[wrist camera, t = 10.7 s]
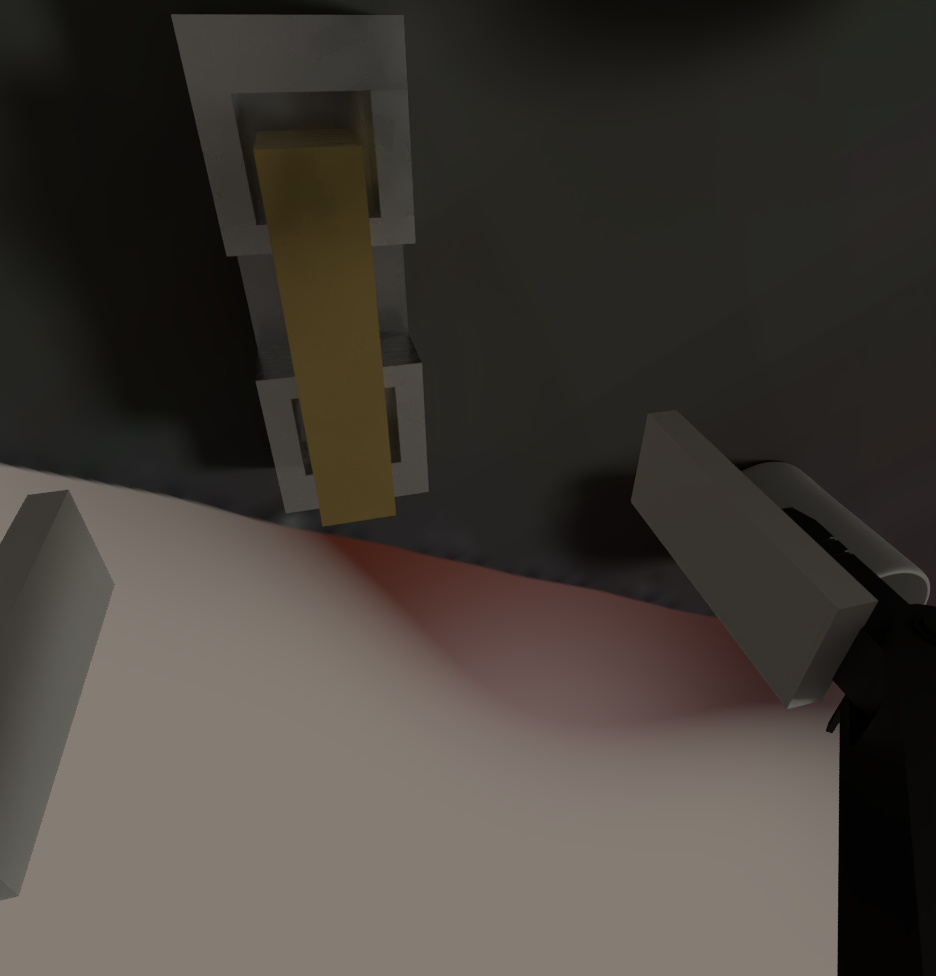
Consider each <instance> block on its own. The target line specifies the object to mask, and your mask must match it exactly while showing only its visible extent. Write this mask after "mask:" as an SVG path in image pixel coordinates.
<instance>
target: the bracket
mask: <svg viewBox="0 0 936 976" xmlns="http://www.w3.org/2000/svg"><path fill="white" fill-rule="evenodd" d="M171 17H172V21H173V26H174V30H175V34H176V39H177V43H178V47H179V52H180V56H181V60H182V65H183V69H184V73H185V78H186V82H187V86H188V91H189V95H190V99H191V104H192V108H193V112H194V117H195V121H196V125H197V130H198V134H199V138H200V143H201V147H202V151H203V156H204V160H205V164H206V169H207V173H208V177H209V182H210V186H211V191H212V195H213V199H214V204H215V208H216V212H217V217H218V221H219V225H220V230H221V234H222V238H223V243H224V247H225V251H226V256H227V257H228V256H237V257H238V262H239V266H240V271H241V275H242V280H243V284H244V289H245V293H246V298H247V302H248V307H249V311H250V316H251V321H252V325H253V330H254V334H255V339H256V343H257V348H258V349H257V365H256V380H255V381H256V386H257V390H258V394H259V399H260V403H261V407H262V412H263V416H264V420H265V425H266V429H267V433H268V438H269V442H270V446H271V451H272V455H273V459H274V464H275V468H276V472H277V477H278V481H279V485H280V490H281V494H282V498H283V503H284V507H285V511H286V513H291V512H298V511H305V510H311V509H318V508H319V503H318V498H317V492H316V487H315V482H314V476H313V471H312V465H311V460H310V455H309V449H308V444H307V438H306V433H305V427H304V422H303V417H302V411H301V406H300V400H299V395H298V389H297V384H296V379H295V373H294V368H293V362H292V357H291V352H290V346H289V341H288V335H287V330H286V324H285V319H284V314H283V308H282V303H281V297H280V292H279V286H278V281H277V276H276V270H275V265H274V259H273V254H272V249H271V243H270V238H269V232H268V227H267V221H266V216H265V211H264V205H263V200H262V194H261V189H260V183H259V178H258V173H257V167H256V162H255V156H254V151H253V149H254V144H255V139H256V135H257V131H285V130H319V129H349V130H350V131H351V133H352V134H353V135H354V136H355V137H356V139H357V140H358V141H359V142H360V144H361V145H362V147H363V158H364V169H365V180H366V191H367V202H368V213H369V224H370V235H371V246H372V257H373V268H374V279H375V290H376V301H377V312H378V323H379V334H380V345H381V356H382V367H383V378H384V389H385V399H386V410H387V421H388V432H389V443H390V454H391V465H392V476H393V487H394V497H397V496H403V495H410V494H416V493H423V492H429V490H428V471H427V452H426V433H425V414H424V395H423V376H422V362H421V360H420V358H419V356H418V353H417V351H416V349H415V347H414V344H413V342H412V340H411V338H410V336H409V333H408V321H407V305H406V290H405V274H404V259H403V244H412V243H415V224H414V205H413V186H412V167H411V148H410V129H409V110H408V91H407V72H406V53H405V34H404V15H207V14H171Z"/></svg>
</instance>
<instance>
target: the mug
mask: <svg viewBox="0 0 936 976" xmlns="http://www.w3.org/2000/svg"><path fill="white" fill-rule="evenodd" d="M741 472H742V473H743V474H744V475H745V476H746V477H747V478H749V479H750V480H751V481H752V482H753V483H754V484H755V485H756V486H757V487H758V488H759V489H760V490H761V491H762V492H763V493H764V494H765V495H767V496H768V497H769V498H770V499H771V500H772V501H773V502H774V503H775V504H776V505H777V506H778V507H779V508H780V509H783V508H789V507H793V508H794V509H796V510H798V511H800V512H802V513H804V514H806V515H807V516H809V517H811V518H813V519H815V520H816V521H818V522H819V523H820V524H821V525H822V526H823V527H824V528H825V529H826V530H828V531H829V532H830V533H831V534H832V535H833V536H834V539H835V540H839V541H840V542H841V543H842V544H843V545H844V546H845V547H846V548H848V549H849V553H850V554H854V555H855V556H856V557H858V558H859V559H860V560H861V561H862V562H863V563H864V564H865V565H866V566H868V567H869V568H870V569H871V570H872V571H873V572H874V573H875V574H876V575H877V576H879V577H880V578H881V579H882V580H883V581H884V582H885V583H886V584H887V585H889V586H890V587H891V588H892V589H893V590H894V591H895V592H896V593H897V594H899V595H900V596H901V597H902V598H903V599H904V600H905V601H906V602H908V603H909V604H923V605H925V604H926V602H927V600H928V597H929V593H930V583H929V580H928V578H927V576H926V575H925V574H924V572H923V571H921V570H920V569H919V568H918V567H917V566H916V565H914V564H913V563H912V562H911V561H910V560H908V559H907V558H906V557H905V556H904V555H902V554H901V553H900V552H899V551H897V550H896V549H895V548H894V547H893V546H891V545H890V544H889V543H888V542H886V541H885V540H884V539H883V538H882V537H880V536H879V535H878V534H877V533H875V532H874V531H873V530H872V529H871V528H869V527H868V526H867V525H866V524H864V523H863V522H862V521H861V520H860V519H858V518H857V517H856V516H855V515H853V514H852V513H851V512H850V511H849V510H847V509H846V508H845V507H844V506H842V505H841V504H840V503H839V502H838V501H836V500H835V499H834V498H833V497H832V496H830V495H829V494H828V493H827V492H826V491H824V490H823V489H822V488H821V487H820V486H819V485H818V484H816V483H815V482H814V481H813V480H812V479H811V478H810V477H808V476H807V475H806V474H805V473H803V472H802V471H801V470H800V469H798V468H797V467H795V466H793V465H791V464H788V463H785V462H766V463H761V464H757V465H754V466H751V467H749V468H747V469H745V470H742V471H741Z"/></svg>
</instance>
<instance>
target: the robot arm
mask: <svg viewBox="0 0 936 976" xmlns="http://www.w3.org/2000/svg"><path fill="white" fill-rule="evenodd" d="M631 503H632V504H633V505H634V507H635V508H636V509H637V511H638V512H639V513H640V515H641V516H642V517H643V519H644V520H645V521H646V523H647V524H648V525H649V527H650V528H651V529H652V531H653V532H654V533H655V535H656V536H657V537H658V539H659V540H660V541H661V543H662V544H663V545H664V547H665V548H666V549H667V551H668V552H669V553H670V555H671V556H672V557H673V559H674V560H675V561H676V563H677V564H678V565H679V567H680V568H681V569H682V571H683V572H684V573H685V575H686V576H687V577H688V579H689V580H690V581H691V582H692V584H693V585H694V586H695V588H696V589H697V590H698V592H699V593H700V594H701V596H702V597H703V598H704V600H705V601H706V602H707V604H708V605H709V606H710V608H711V609H712V610H713V612H714V613H715V614H716V616H717V617H718V618H719V620H720V621H721V622H722V624H723V625H724V626H725V628H726V629H727V630H728V632H729V633H730V634H731V636H732V637H733V638H734V640H735V641H736V642H737V643H738V645H739V646H740V648H741V649H742V650H743V652H744V653H745V654H746V656H747V657H748V658H749V659H750V661H751V662H752V663H753V665H754V666H755V667H756V669H757V670H758V671H759V673H760V674H761V675H762V677H763V678H764V679H765V681H766V682H767V683H768V685H769V686H770V687H771V689H772V690H773V691H774V693H775V694H776V695H777V697H778V698H779V699H780V701H781V702H782V703H783V705H784V706H785V707H786V709H789V708H794V707H798V706H802V705H806V704H810V703H814V702H818V701H822V699H823V697H824V696H825V694H826V692H827V690H828V689H829V687H830V685H831V683H832V682H833V681H834V682H835V683H836V684H837V685H838V686H839V688H840V689H841V690H842V691H843V692H844V693H845V696H844V698H843V699H842V701H841V703H840V704H839V706H838V708H837V709H836V711H835V713H834V714H833V716H832V718H831V719H830V721H829V723H828V726H827V729H826V731H827V732H830V733H833V731H834V730H835V728H836V726H837V725H838V724H839V723H840V755H839V756H840V757H839V758H840V759H839V768H840V769H839V868H838V869H839V872H838V976H936V607H934V606H929V605H923V604H909V603H908V602H906V601H905V600H904V599H903V598H902V597H901V596H900V595H899V594H897V593H896V592H895V591H894V590H893V589H892V588H891V587H890V586H889V585H887V584H886V583H885V582H884V581H883V580H882V579H881V578H880V577H879V576H877V575H876V574H875V573H874V572H873V571H872V570H871V569H870V568H869V567H868V566H866V565H865V564H864V563H863V562H862V561H861V560H860V559H859V558H858V557H856V556H855V555H854V554H850V553H849V549H848V548H846V547H845V546H844V545H843V544H842V543H841V542H840V541H839V540H835V539H834V536H833V535H832V534H831V533H830V532H829V531H828V530H826V529H825V528H824V527H823V526H822V525H821V524H820V523H819V522H818V521H816V520H815V519H813V518H811V517H809V516H807V515H806V514H804V513H802V512H800V511H798V510H796V509H794V508H793V507H789V508H783V509H780V508H779V507H778V506H777V505H776V504H775V503H774V502H773V501H772V500H771V499H770V498H769V497H768V496H767V495H765V494H764V493H763V492H762V491H761V490H760V489H759V488H758V487H757V486H756V485H755V484H754V483H753V482H752V481H751V480H750V479H749V478H747V477H746V476H745V475H744V474H743V473H742V472H741V471H740V470H739V469H738V468H737V467H736V466H735V465H734V464H733V463H732V462H730V461H729V460H728V459H727V458H726V457H725V456H724V455H723V454H722V453H721V452H720V451H719V450H718V449H717V448H716V447H715V446H713V445H712V444H711V443H710V442H709V441H708V440H707V439H706V438H705V437H704V436H703V435H702V434H701V433H700V432H699V431H698V430H696V429H695V428H694V427H693V426H692V425H691V424H690V423H689V422H688V421H687V420H686V419H685V418H684V417H683V416H682V415H681V414H680V413H678V412H677V411H676V410H673V411H666V412H658V413H650V414H648V416H647V421H646V427H645V432H644V437H643V442H642V447H641V452H640V457H639V462H638V467H637V472H636V477H635V482H634V488H633V493H632V498H631ZM113 588H114V582H113V580H112V578H111V576H110V574H109V572H108V570H107V568H106V566H105V564H104V562H103V560H102V558H101V556H100V553H99V551H98V549H97V547H96V545H95V543H94V541H93V539H92V537H91V535H90V533H89V531H88V529H87V527H86V525H85V523H84V521H83V519H82V516H81V514H80V512H79V510H78V508H77V506H76V504H75V502H74V500H73V498H72V496H71V494H70V492H69V490H63V491H56V492H48V493H41V494H32V495H27V497H26V499H25V501H24V503H23V504H22V506H21V508H20V510H19V511H18V513H17V515H16V517H15V519H14V520H13V522H12V524H11V526H10V528H9V529H8V531H7V533H6V535H5V536H4V538H3V540H2V542H1V544H0V900H4V899H8V898H12V897H16V896H19V893H20V890H21V886H22V883H23V880H24V877H25V873H26V870H27V867H28V864H29V861H30V857H31V854H32V851H33V847H34V844H35V841H36V837H37V834H38V831H39V828H40V825H41V822H42V818H43V815H44V812H45V809H46V805H47V802H48V799H49V796H50V792H51V789H52V786H53V783H54V779H55V776H56V773H57V770H58V766H59V763H60V760H61V757H62V753H63V750H64V747H65V744H66V740H67V737H68V734H69V731H70V727H71V724H72V721H73V717H74V714H75V711H76V708H77V705H78V701H79V698H80V695H81V692H82V688H83V685H84V682H85V679H86V676H87V672H88V669H89V666H90V662H91V659H92V656H93V653H94V650H95V646H96V643H97V640H98V637H99V633H100V630H101V627H102V624H103V620H104V617H105V614H106V610H107V607H108V604H109V601H110V597H111V594H112V591H113Z"/></svg>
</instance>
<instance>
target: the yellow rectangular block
mask: <svg viewBox="0 0 936 976" xmlns="http://www.w3.org/2000/svg"><path fill="white" fill-rule="evenodd" d="M253 151H254V156H255V162H256V167H257V173H258V178H259V183H260V189H261V194H262V200H263V205H264V211H265V216H266V221H267V227H268V232H269V238H270V243H271V249H272V254H273V259H274V265H275V270H276V276H277V281H278V286H279V292H280V297H281V303H282V308H283V314H284V319H285V324H286V330H287V335H288V341H289V346H290V352H291V357H292V362H293V368H294V373H295V379H296V384H297V389H298V395H299V400H300V406H301V411H302V417H303V422H304V427H305V433H306V438H307V444H308V449H309V455H310V460H311V465H312V471H313V476H314V482H315V487H316V492H317V498H318V503H319V509H320V514H321V520H322V525H323V526H329V525H335V524H342V523H348V522H355V521H361V520H367V519H374V518H380V517H387V516H393V515H396V509H395V498H394V487H393V476H392V465H391V454H390V443H389V432H388V421H387V410H386V399H385V389H384V378H383V367H382V356H381V345H380V334H379V323H378V312H377V301H376V290H375V279H374V268H373V257H372V246H371V235H370V224H369V213H368V202H367V191H366V180H365V169H364V158H363V147H362V145H361V144H360V142H359V141H358V140H357V139H356V137H355V136H354V135H353V134H352V133H351V131H350V130H349V129H319V130H285V131H257V135H256V139H255V144H254V149H253Z"/></svg>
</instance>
